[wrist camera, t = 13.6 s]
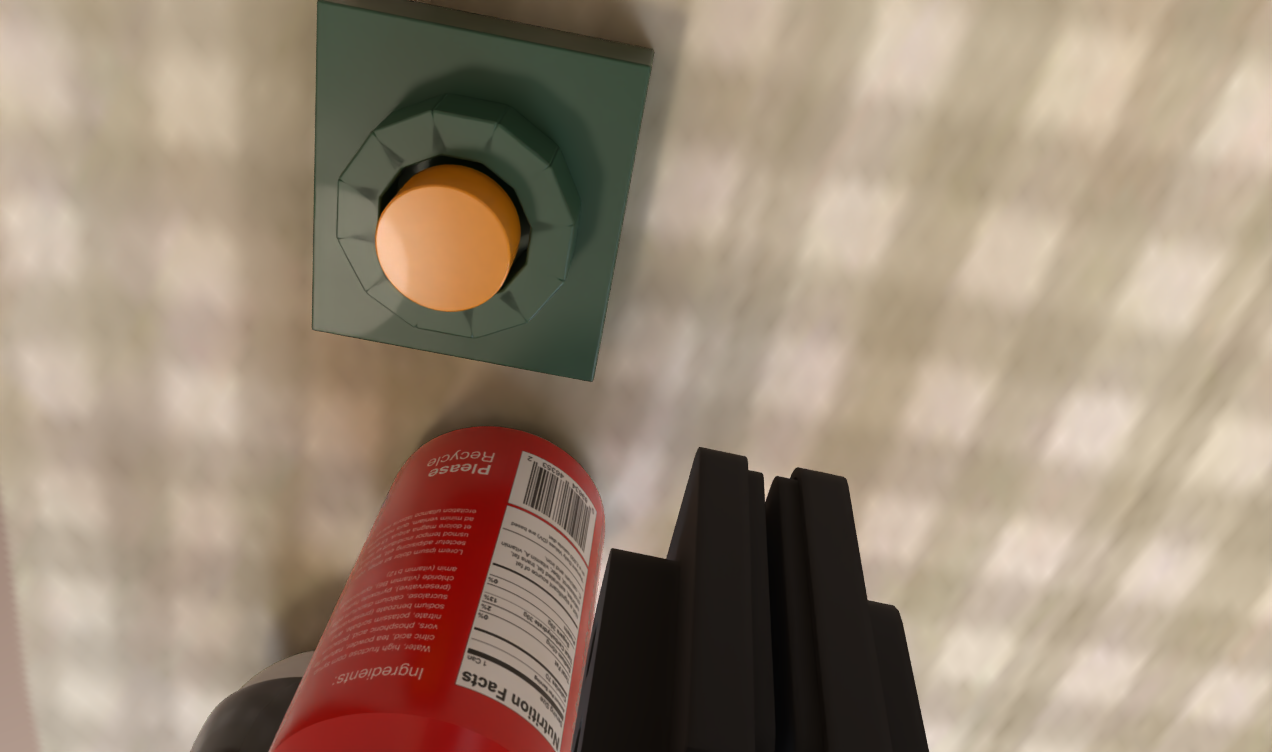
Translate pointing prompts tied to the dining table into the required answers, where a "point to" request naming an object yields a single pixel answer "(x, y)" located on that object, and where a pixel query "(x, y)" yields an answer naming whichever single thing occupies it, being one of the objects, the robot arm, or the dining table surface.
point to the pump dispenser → (253, 710)
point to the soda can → (461, 607)
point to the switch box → (488, 142)
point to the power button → (448, 238)
